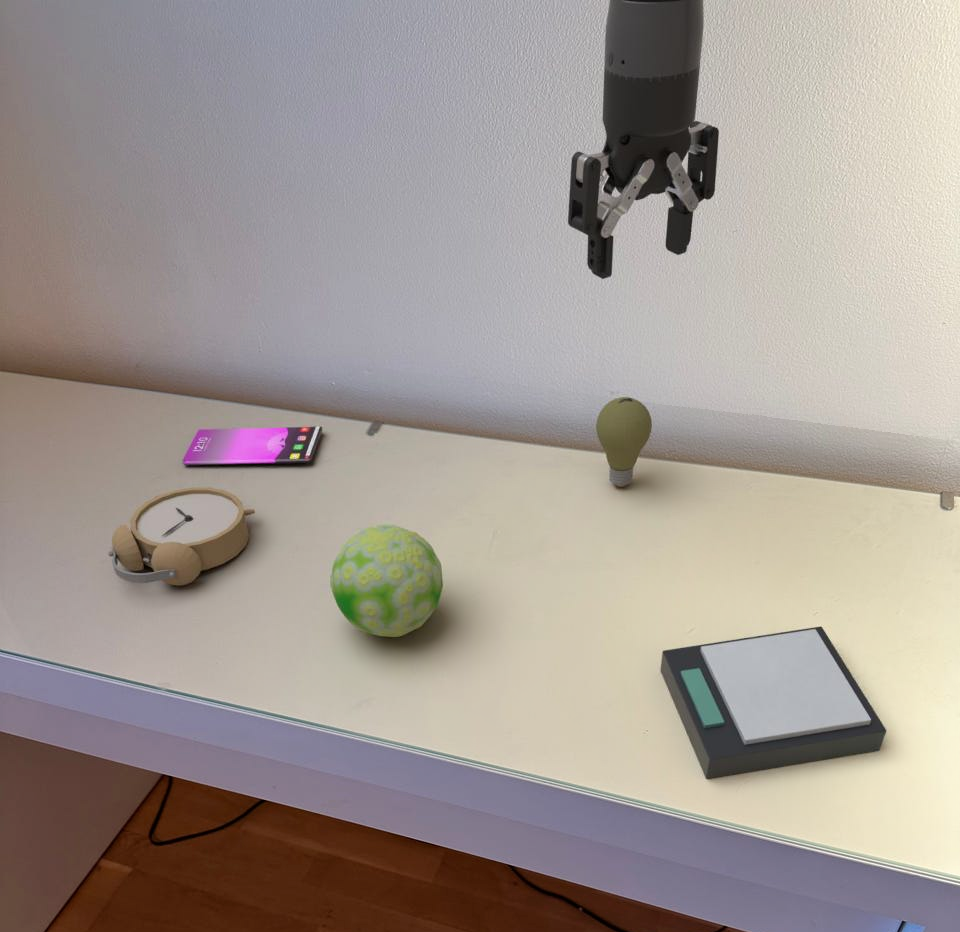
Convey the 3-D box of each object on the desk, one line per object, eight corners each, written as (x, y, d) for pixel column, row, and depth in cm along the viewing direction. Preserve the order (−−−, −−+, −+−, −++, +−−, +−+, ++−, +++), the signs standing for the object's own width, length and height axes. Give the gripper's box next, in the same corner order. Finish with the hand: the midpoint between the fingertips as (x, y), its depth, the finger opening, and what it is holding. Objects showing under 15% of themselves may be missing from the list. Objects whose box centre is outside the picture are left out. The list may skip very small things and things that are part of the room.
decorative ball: (457, 592, 91) (449, 506, 84) (431, 666, 84) (421, 579, 77) (358, 582, 93) (342, 497, 86) (325, 654, 86) (305, 568, 79)
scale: (816, 645, 83) (823, 620, 81) (879, 750, 75) (889, 725, 73) (660, 670, 82) (662, 645, 80) (706, 779, 74) (710, 754, 72)
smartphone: (311, 466, 108) (310, 459, 107) (182, 466, 109) (180, 460, 108) (324, 431, 113) (322, 425, 112) (200, 432, 114) (198, 426, 114)
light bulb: (620, 463, 105) (624, 380, 98) (658, 484, 102) (665, 400, 95) (583, 483, 103) (585, 400, 96) (620, 506, 100) (626, 421, 93)
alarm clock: (268, 501, 98) (164, 565, 87) (272, 544, 101) (172, 610, 90) (184, 476, 102) (74, 534, 91) (190, 518, 105) (85, 578, 94)
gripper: (608, 87, 71) (600, 298, 82) (753, 52, 76) (727, 256, 87) (550, 67, 76) (550, 270, 87) (690, 36, 81) (673, 231, 92)
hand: (639, 263), depth 87 cm, fingers open, 8 cm apart
